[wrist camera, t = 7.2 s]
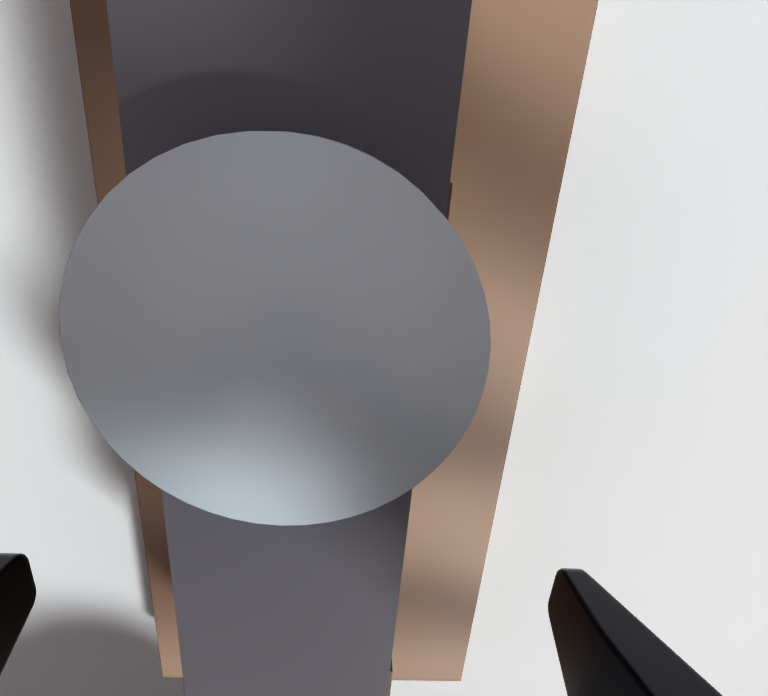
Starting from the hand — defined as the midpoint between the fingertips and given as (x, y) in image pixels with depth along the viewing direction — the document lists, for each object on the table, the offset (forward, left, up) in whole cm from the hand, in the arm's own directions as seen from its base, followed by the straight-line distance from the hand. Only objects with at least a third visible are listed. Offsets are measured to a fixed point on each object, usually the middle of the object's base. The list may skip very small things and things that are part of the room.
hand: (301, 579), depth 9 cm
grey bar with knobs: (0, 0, -3) cm, 3 cm away
